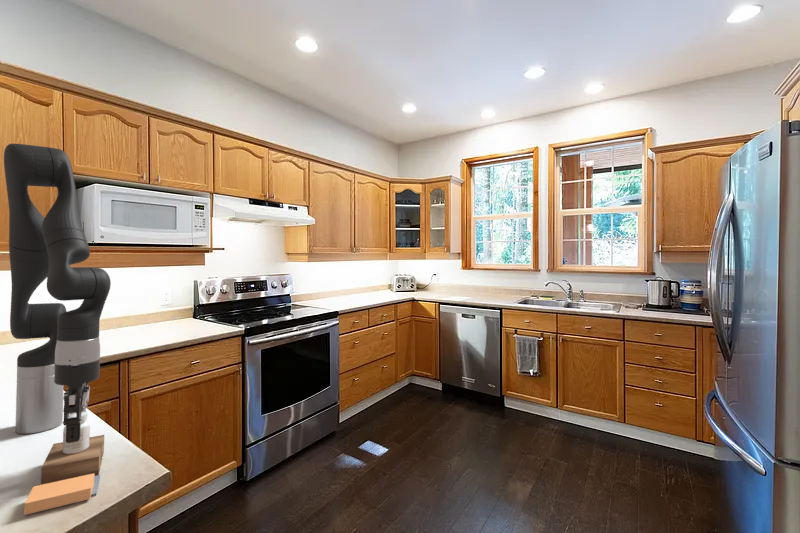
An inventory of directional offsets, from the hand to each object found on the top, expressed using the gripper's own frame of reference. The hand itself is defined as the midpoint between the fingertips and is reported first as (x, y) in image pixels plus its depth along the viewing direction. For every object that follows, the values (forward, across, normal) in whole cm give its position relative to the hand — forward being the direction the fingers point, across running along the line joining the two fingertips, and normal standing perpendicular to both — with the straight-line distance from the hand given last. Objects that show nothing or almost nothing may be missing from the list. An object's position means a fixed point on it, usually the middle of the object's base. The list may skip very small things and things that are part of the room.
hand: (76, 433), depth 82 cm
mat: (+8, +10, +1) cm, 13 cm away
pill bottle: (+4, 0, 0) cm, 4 cm away
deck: (+8, 0, 0) cm, 8 cm away
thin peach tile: (+5, +13, 0) cm, 14 cm away
